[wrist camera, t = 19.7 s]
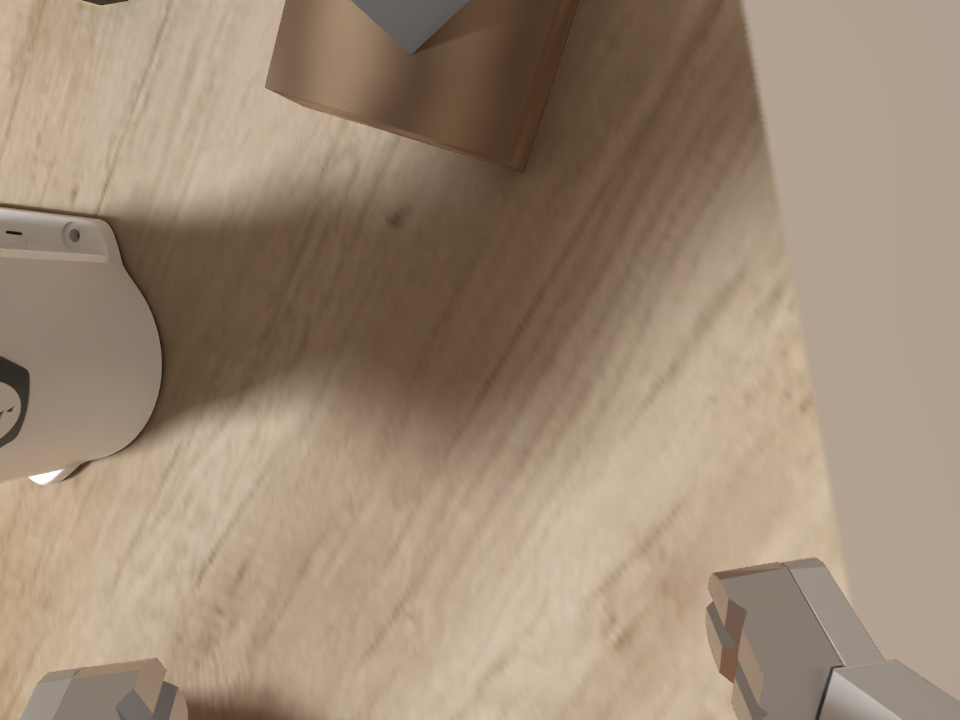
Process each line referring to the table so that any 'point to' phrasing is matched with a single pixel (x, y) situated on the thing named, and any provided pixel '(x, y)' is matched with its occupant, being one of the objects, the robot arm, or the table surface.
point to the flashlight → (104, 1)
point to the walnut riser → (428, 72)
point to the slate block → (410, 18)
